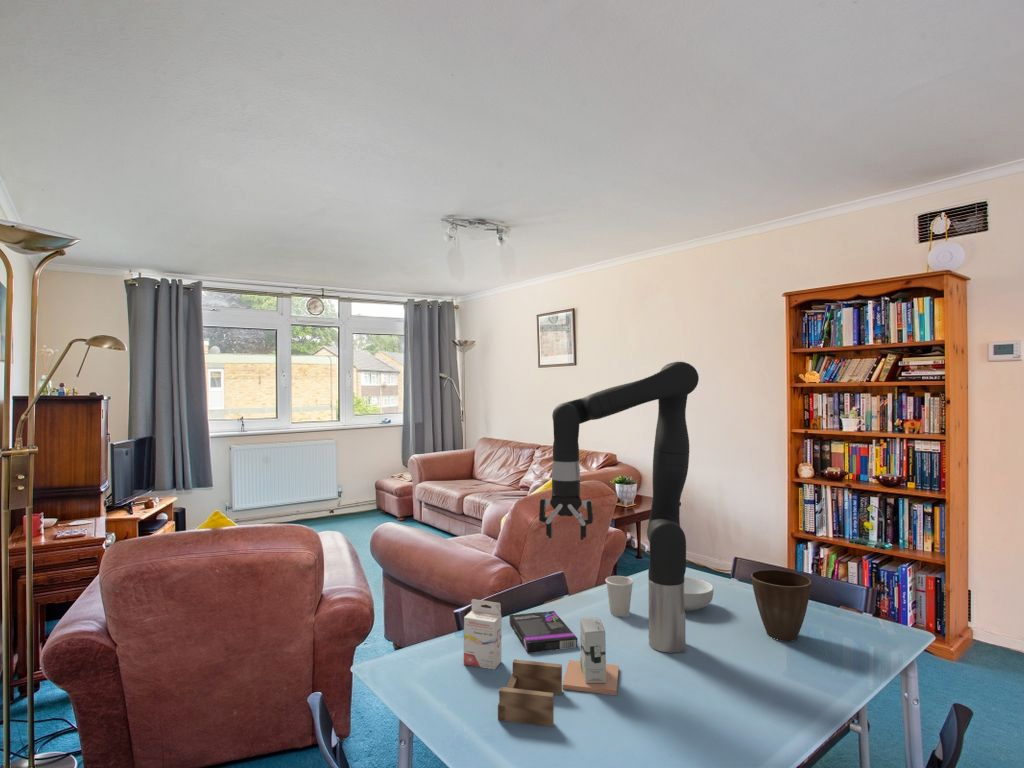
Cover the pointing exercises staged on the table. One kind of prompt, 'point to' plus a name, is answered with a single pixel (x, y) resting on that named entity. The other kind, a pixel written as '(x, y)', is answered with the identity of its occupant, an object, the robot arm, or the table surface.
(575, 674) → the terracotta tile
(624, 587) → the dixie cup
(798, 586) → the plant pot
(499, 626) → the ink cartridge box
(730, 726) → the table surface
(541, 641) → the box
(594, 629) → the ink box
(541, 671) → the walnut slot rack
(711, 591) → the cereal bowl
